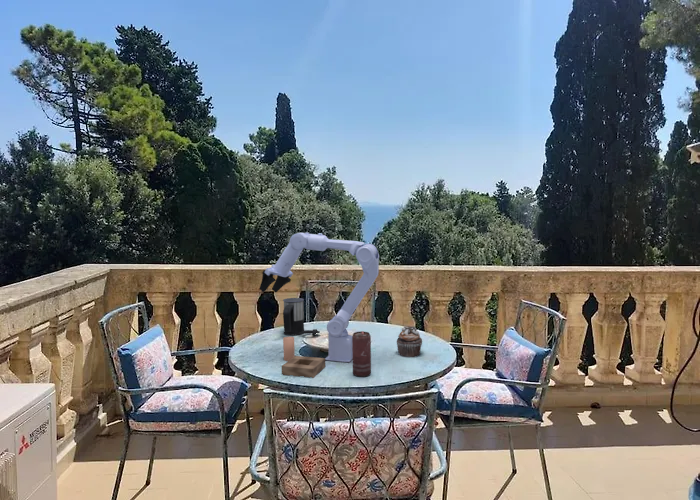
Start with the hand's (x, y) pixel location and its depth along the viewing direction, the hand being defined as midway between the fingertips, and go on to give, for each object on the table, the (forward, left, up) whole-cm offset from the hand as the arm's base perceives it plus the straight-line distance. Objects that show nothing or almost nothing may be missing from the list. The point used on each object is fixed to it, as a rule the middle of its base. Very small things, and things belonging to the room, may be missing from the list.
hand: (267, 290), depth 194 cm
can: (-39, +11, -25) cm, 48 cm away
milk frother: (0, -30, -25) cm, 39 cm away
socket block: (-19, +13, -24) cm, 34 cm away
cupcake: (-50, -15, -25) cm, 58 cm away
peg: (-9, +3, -24) cm, 27 cm away
